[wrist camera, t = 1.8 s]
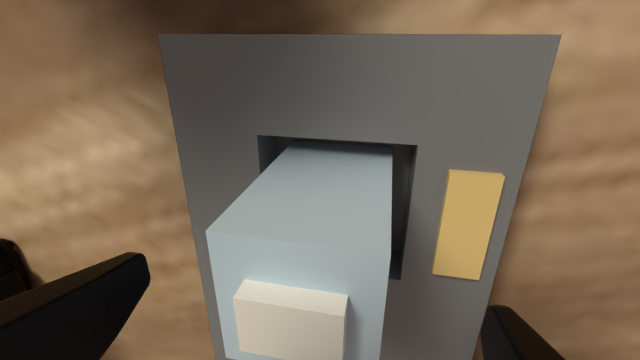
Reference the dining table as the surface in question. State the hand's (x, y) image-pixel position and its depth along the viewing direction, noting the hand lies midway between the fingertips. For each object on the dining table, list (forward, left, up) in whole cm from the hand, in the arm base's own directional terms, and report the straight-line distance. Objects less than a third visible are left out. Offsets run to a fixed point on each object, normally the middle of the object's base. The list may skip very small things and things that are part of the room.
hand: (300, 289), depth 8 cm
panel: (0, -6, -7) cm, 9 cm away
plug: (0, 0, -6) cm, 6 cm away
